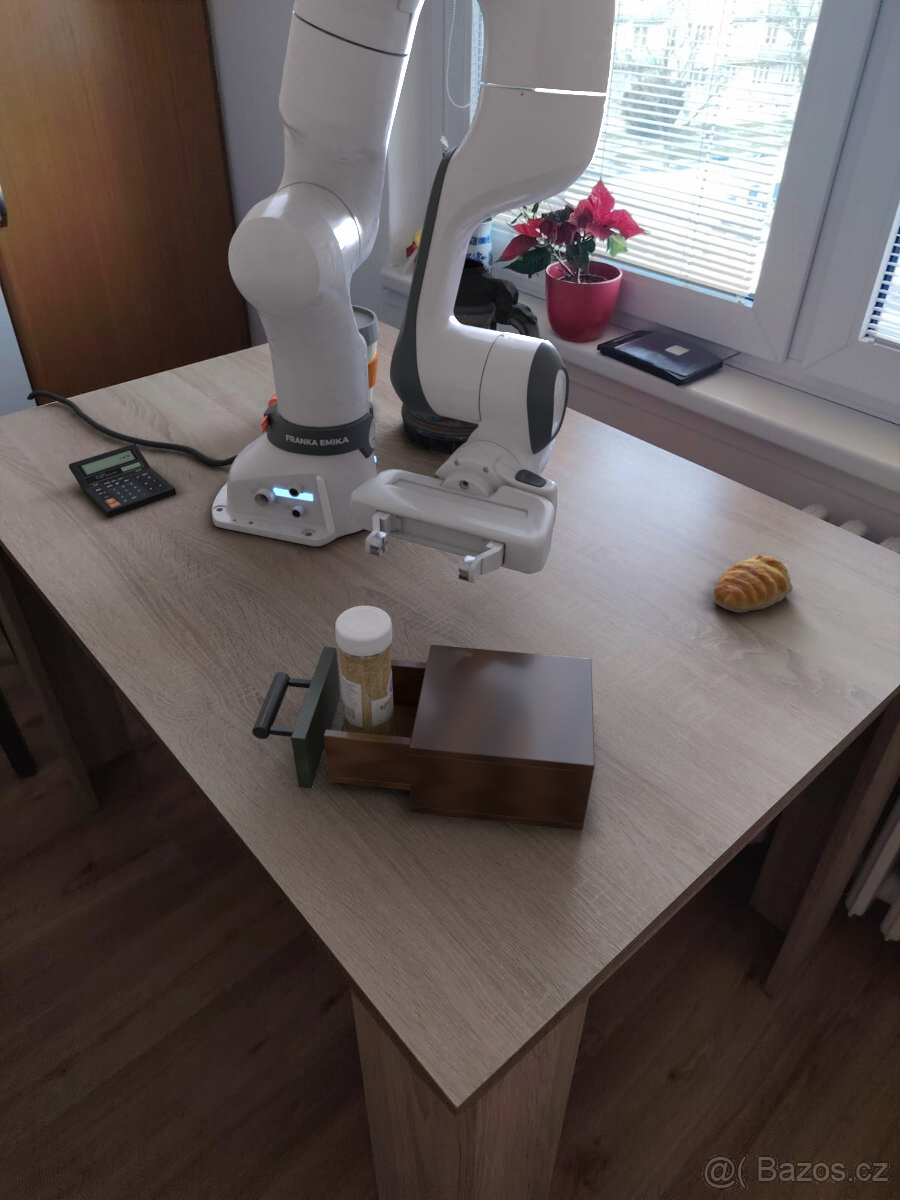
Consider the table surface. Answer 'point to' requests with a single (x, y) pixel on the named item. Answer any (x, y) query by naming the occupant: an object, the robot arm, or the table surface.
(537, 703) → the cabinet
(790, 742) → the table surface
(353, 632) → the sprinkles bottle
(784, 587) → the pastry
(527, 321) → the beer stein
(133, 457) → the calculator
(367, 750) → the drawer
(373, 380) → the reusable coffee cup
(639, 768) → the table surface
